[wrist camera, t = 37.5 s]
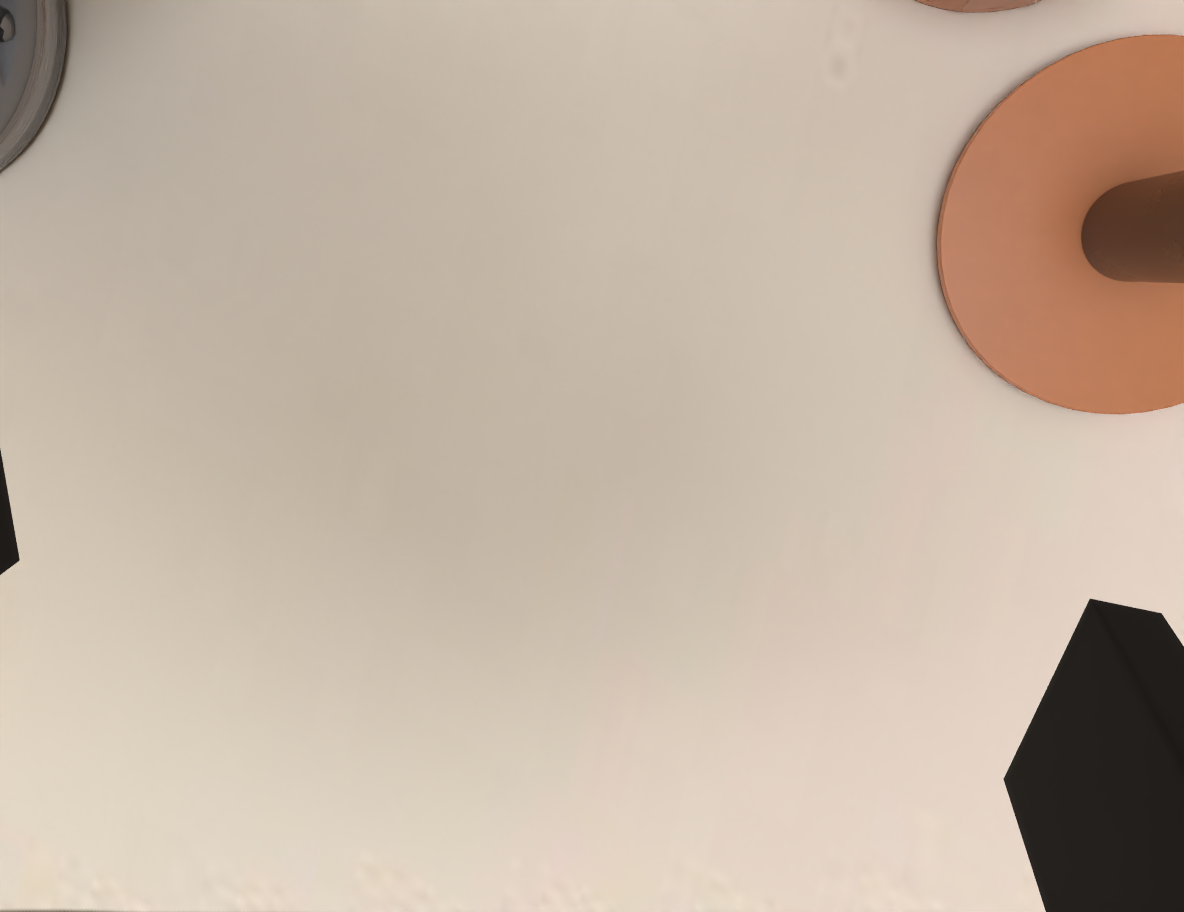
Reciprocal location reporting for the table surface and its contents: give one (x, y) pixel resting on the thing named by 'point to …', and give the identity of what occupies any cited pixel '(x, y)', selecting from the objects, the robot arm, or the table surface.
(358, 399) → the table surface
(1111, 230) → the lid
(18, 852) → the table surface
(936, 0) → the canister
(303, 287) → the table surface
